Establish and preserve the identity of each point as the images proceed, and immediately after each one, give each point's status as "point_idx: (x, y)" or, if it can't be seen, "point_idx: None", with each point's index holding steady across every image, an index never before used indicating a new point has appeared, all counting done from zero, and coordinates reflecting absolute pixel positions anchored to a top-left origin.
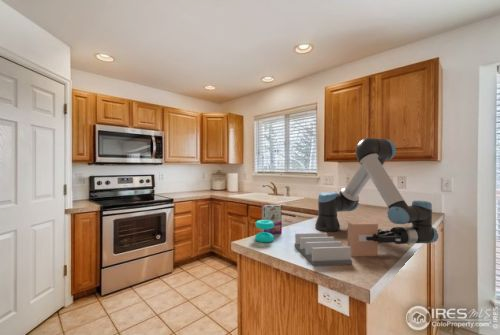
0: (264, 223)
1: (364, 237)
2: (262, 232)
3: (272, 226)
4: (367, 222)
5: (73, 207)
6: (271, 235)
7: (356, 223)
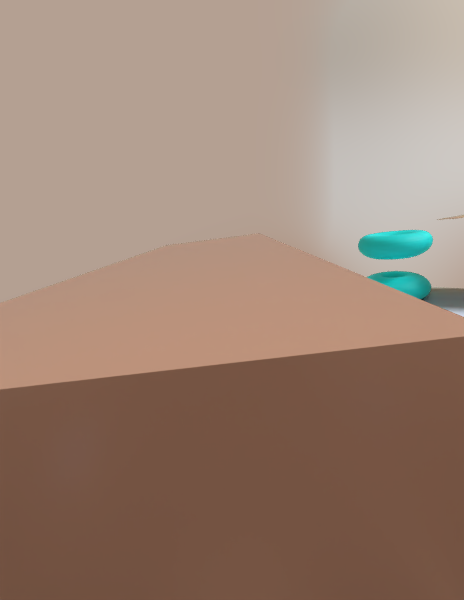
0: (364, 237)
1: None
2: (404, 272)
3: (381, 250)
4: (260, 265)
5: (448, 217)
6: (389, 283)
7: (199, 244)
